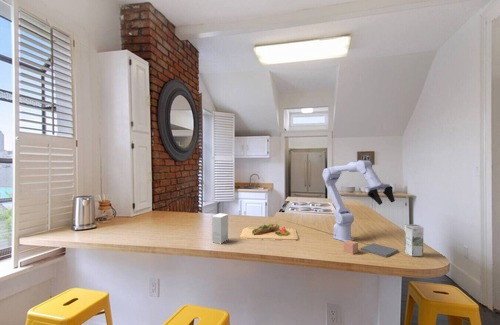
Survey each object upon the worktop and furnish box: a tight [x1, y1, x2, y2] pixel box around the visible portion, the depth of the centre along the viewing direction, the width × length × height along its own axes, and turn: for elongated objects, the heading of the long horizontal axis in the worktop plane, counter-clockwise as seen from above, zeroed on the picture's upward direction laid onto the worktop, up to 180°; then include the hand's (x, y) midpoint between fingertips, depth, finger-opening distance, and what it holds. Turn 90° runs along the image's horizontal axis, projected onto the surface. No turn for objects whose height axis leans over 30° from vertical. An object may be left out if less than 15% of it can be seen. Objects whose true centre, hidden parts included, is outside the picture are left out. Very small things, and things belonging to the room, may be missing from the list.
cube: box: [343, 240, 359, 255], centre depth 128 cm, size 5×5×5 cm
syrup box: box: [404, 224, 424, 257], centre depth 124 cm, size 6×6×14 cm
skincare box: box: [211, 212, 229, 244], centre depth 146 cm, size 8×7×16 cm
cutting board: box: [239, 223, 299, 241], centre depth 160 cm, size 35×23×8 cm
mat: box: [360, 243, 399, 258], centre depth 130 cm, size 13×13×1 cm
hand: (387, 202), depth 124 cm, fingers open, 7 cm apart
